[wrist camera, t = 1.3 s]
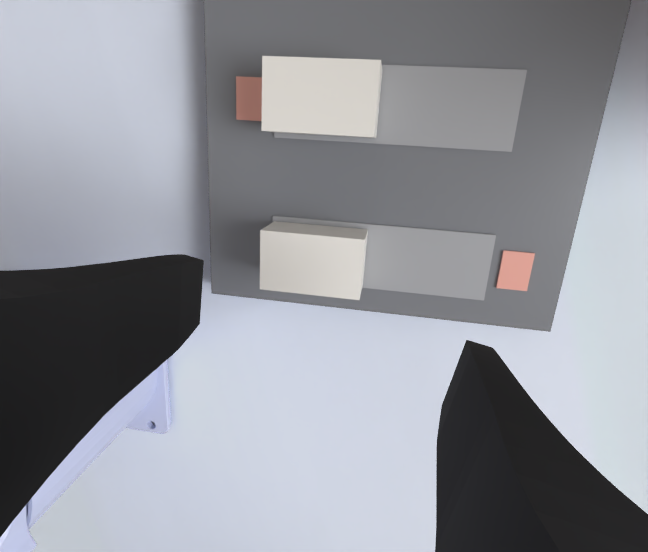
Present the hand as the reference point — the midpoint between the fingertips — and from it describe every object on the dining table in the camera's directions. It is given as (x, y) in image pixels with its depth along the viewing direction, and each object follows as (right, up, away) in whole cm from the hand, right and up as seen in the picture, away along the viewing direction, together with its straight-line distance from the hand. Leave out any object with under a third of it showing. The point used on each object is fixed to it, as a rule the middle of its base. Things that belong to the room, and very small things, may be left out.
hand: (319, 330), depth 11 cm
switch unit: (+3, +8, +6) cm, 11 cm away
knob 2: (0, +2, +7) cm, 7 cm away
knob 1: (0, +8, +5) cm, 10 cm away
